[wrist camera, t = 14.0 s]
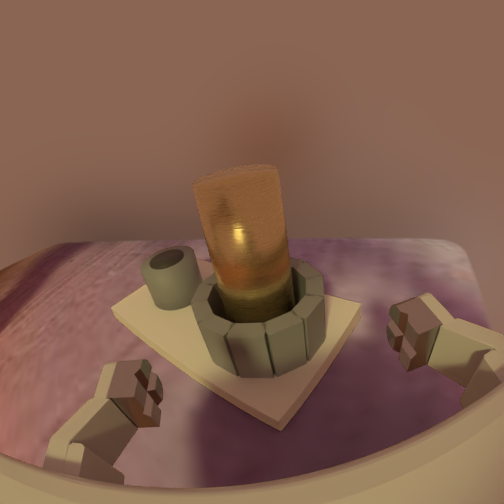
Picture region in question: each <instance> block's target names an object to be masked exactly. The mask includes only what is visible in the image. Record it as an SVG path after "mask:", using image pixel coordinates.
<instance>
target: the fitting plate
mask: <svg viewBox="0 0 504 504" xmlns="http://www.w3.org/2000/svg"><path fill="white" fill-rule="evenodd" d="M290 264H291V273H292V282H293V291H294V300H295V307H294V308H293V309H292V311H290V312H288V313H286V314H283V315H281V316H278V317H276V318H274V319H271V320H269V321H266V322H264V323H232V322H230V321H228V320H227V316H226V313H225V309H224V306H223V302H222V299H221V295H220V292H219V288H218V284H217V281H216V277H215V274H214V270H213V266H212V263H211V262H208V261H204V260H201V259H197V258H196V257H195V254H194V250H193V249H192V248H190V247H187V246H174V247H170V248H166V249H163V250H160V251H158V252H156V253H154V254H152V255H151V256H149V257H148V258H147V259H146V260H145V261H144V262H143V263H142V265H141V267H140V270H141V273H142V275H143V277H144V280H145V282H146V284H145V285H144V286H142V287H141V288H139V289H138V290H136V291H135V292H133V293H132V294H130V295H129V296H127V297H126V298H124V299H123V300H122V301H120V302H119V303H117V304H116V305H114V306H113V307H111V309H112V311H113V313H114V315H115V317H116V318H117V319H118V320H119V321H120V322H121V323H122V324H124V325H125V326H126V327H127V328H128V329H129V330H131V331H132V332H133V333H134V334H135V335H137V336H138V337H139V338H140V339H141V340H143V341H144V342H145V343H146V344H148V345H149V346H150V347H151V348H153V349H154V350H155V351H157V352H158V353H159V354H160V355H162V356H163V357H164V358H166V359H167V360H168V361H170V362H171V363H172V364H174V365H175V366H177V367H178V368H179V369H181V370H182V371H183V372H185V373H186V374H188V375H189V376H191V377H192V378H193V379H195V380H196V381H198V382H199V383H201V384H202V385H204V386H205V387H207V388H208V389H210V390H211V391H213V392H214V393H216V394H217V395H219V396H221V397H222V398H224V399H225V400H227V401H228V402H230V403H232V404H233V405H235V406H237V407H238V408H240V409H242V410H243V411H245V412H247V413H248V414H250V415H252V416H254V417H255V418H257V419H259V420H261V421H263V422H264V423H266V424H268V425H270V426H272V427H274V428H275V429H277V430H279V431H282V430H283V429H284V427H285V426H286V425H287V424H288V423H289V421H290V420H291V419H292V417H293V416H294V415H295V414H296V412H297V411H298V410H299V408H300V407H301V406H302V404H303V403H304V402H305V400H306V399H307V398H308V396H309V395H310V394H311V392H312V391H313V390H314V388H315V387H316V385H317V384H318V383H319V381H320V380H321V378H322V377H323V375H324V374H325V373H326V371H327V370H328V368H329V367H330V365H331V364H332V362H333V361H334V359H335V358H336V356H337V355H338V353H339V352H340V350H341V348H342V347H343V345H344V344H345V342H346V341H347V339H348V337H349V336H350V334H351V332H352V331H353V329H354V328H355V326H356V324H357V322H358V321H359V319H360V317H361V304H360V303H356V302H353V301H349V300H345V299H341V298H337V297H333V296H330V295H326V294H324V285H323V276H322V274H321V273H320V272H318V271H317V270H316V269H315V268H314V267H312V266H311V265H310V264H309V263H307V262H304V260H299V259H295V258H290Z"/></svg>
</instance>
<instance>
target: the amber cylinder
mask: <svg viewBox="0 0 504 504" xmlns="http://www.w3.org/2000/svg"><path fill="white" fill-rule="evenodd" d="M192 186H193V191H194V195H195V199H196V203H197V208H198V212H199V215H200V219H201V224H202V228H203V232H204V236H205V240H206V243H207V247H208V251H209V255H210V259H211V262H212V266H213V270H214V274H215V277H216V281H217V284H218V288H219V292H220V295H221V299H222V302H223V306H224V309H225V313H226V316H227V320H228V321H230V322H232V323H264V322H266V321H269V320H271V319H274V318H276V317H278V316H281V315H283V314H286V313H288V312H290V311H292V309H293V308H294V307H295V300H294V291H293V282H292V273H291V264H290V256H289V248H288V240H287V233H286V225H285V217H284V209H283V202H282V195H281V188H280V181H279V174H278V168H277V167H276V166H273V165H265V164H264V165H263V164H260V165H247V166H239V167H234V168H229V169H224V170H221V171H217V172H214V173H211V174H208V175H205V176H203V177H201V178H199V179H197V180H195V181H194V182H193V183H192Z"/></svg>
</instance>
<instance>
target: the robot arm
mask: <svg viewBox="0 0 504 504" xmlns="http://www.w3.org/2000/svg"><path fill="white" fill-rule="evenodd" d="M389 315H390V317H391V318H392V319H391V320H390V322H389V323H388V324H387V337H388V341H389V343H390V345H391V347H392V349H393V350H395V351H397V352H399V353H400V354H399V360H400V361H401V363H402V365H403V366H404V368H405V369H406V371H407V372H409V371H411V370H414V369H416V368H419V367H421V366H423V365H426V364H427V365H428V366H430V367H431V368H433V369H435V370H437V371H438V372H440V373H442V374H443V375H445V376H447V377H448V378H450V379H452V380H454V381H455V382H457V383H459V384H460V385H462V386H464V387H466V389H465V391H464V393H463V394H462V396H461V398H460V401H459V402H460V404H461V405H462V407H463V410H461V411H459V412H458V413H456V414H454V415H453V416H451V417H449V418H448V419H446V420H444V421H442V422H440V423H439V424H437V425H435V426H433V427H431V428H429V429H427V430H425V431H423V432H421V433H419V434H417V435H415V436H413V437H411V438H409V439H406V440H404V441H402V442H400V443H397V444H395V445H393V446H390V447H388V448H386V449H383V450H381V451H378V452H375V453H373V454H370V455H367V456H365V457H362V458H359V459H356V460H353V461H350V462H347V463H344V464H340V465H337V466H334V467H330V468H326V469H323V470H319V471H315V472H311V473H307V474H303V475H298V476H293V477H289V478H283V479H278V480H272V481H266V482H260V483H252V484H244V485H235V486H223V487H206V488H161V487H144V486H133V485H124V475H123V473H121V472H120V471H118V470H117V469H115V468H114V467H112V466H113V464H114V463H115V462H116V460H117V459H118V457H119V456H120V454H121V453H122V451H123V450H124V449H125V447H126V446H127V444H128V443H129V441H130V440H131V438H132V437H133V435H134V434H135V433H136V431H137V430H138V428H145V427H160V418H161V410H160V408H159V407H158V405H159V404H160V403H161V401H162V400H163V388H162V384H161V381H160V379H159V377H158V376H157V375H156V374H154V373H153V372H151V367H152V366H151V365H150V363H149V362H148V360H131V361H119V362H107V363H106V364H105V365H104V367H103V370H102V373H101V376H100V379H99V383H98V386H97V389H96V392H95V395H94V399H89V400H88V401H87V402H86V403H85V404H84V405H83V406H82V407H81V408H80V409H79V410H78V411H77V412H76V413H75V414H74V415H73V416H72V417H71V418H70V419H69V420H68V421H67V422H66V423H65V424H64V425H63V426H62V427H61V428H60V429H59V430H58V431H57V432H56V433H55V434H54V435H53V436H52V437H51V439H50V442H49V446H48V449H47V453H46V456H45V460H44V464H43V468H42V467H39V466H36V465H32V464H29V463H27V462H24V461H21V460H18V459H15V458H13V457H10V456H8V455H5V454H3V453H0V504H504V334H501V333H498V332H495V331H493V330H490V329H487V328H484V327H482V326H479V325H476V324H473V323H471V322H468V321H465V320H462V319H460V318H457V319H454V318H453V317H452V315H451V314H450V313H449V312H448V311H447V310H446V309H445V308H444V307H443V306H442V305H441V304H440V303H439V302H438V300H437V299H436V298H435V297H434V296H433V295H432V294H430V293H428V292H427V293H425V294H422V295H419V296H417V297H414V298H411V299H408V300H406V301H403V302H400V303H397V304H394V305H392V306H391V308H390V311H389Z"/></svg>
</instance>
